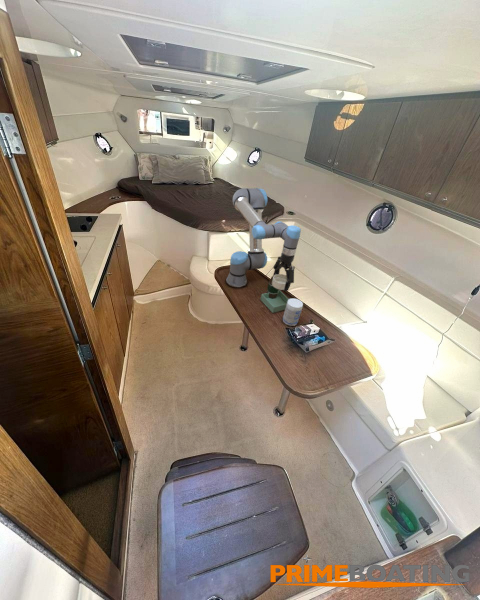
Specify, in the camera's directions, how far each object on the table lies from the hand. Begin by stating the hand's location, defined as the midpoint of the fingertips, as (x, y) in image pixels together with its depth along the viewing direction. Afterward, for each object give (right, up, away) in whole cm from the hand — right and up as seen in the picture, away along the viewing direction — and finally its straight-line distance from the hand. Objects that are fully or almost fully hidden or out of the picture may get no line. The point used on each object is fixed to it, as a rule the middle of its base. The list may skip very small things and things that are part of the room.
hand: (280, 285), depth 156 cm
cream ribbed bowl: (0, 0, 0) cm, 0 cm away
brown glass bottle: (-3, -6, +20) cm, 22 cm away
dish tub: (-1, -12, +14) cm, 18 cm away
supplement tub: (+6, -23, +1) cm, 24 cm away
